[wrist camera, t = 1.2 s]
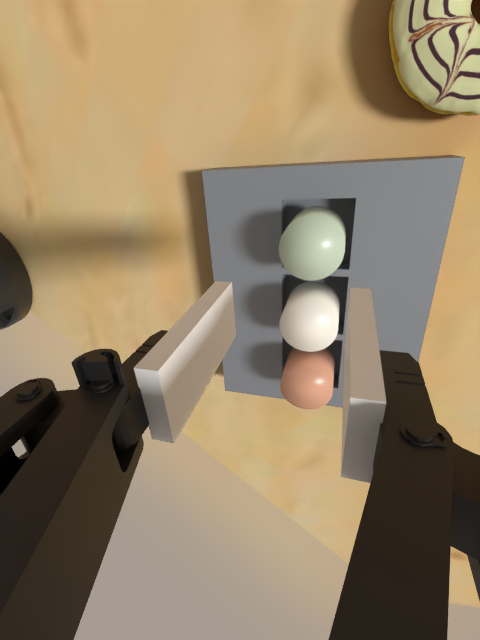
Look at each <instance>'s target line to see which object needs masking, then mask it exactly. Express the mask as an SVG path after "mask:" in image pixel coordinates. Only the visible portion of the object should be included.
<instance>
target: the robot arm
mask: <svg viewBox="0 0 480 640" xmlns="http://www.w3.org/2000/svg"><path fill="white" fill-rule="evenodd" d="M31 304H32V288H31V283H30V279H29V276H28V273H27V271H26V268H25V266H24V264H23V262H22V260H21V259H20V257H19V255H18V254H17V252H16V251H15V249H14V248H13V247H12V245H11V244H10V243H9V242H8V241H7V239H6V238H5V237H4V236H3V235H2V234H1V233H0V329H4V328H6V327H9V326H11V325H13V324H14V323H16V322H18V321H20V320H22V319H23V318H24V317H25V316H26V315H27V314H28V312H29V310H30V308H31ZM235 337H236V327H235V314H234V302H233V289H232V282H223V281H215V282H214V283H213V284H212V286H211V287H210V288H209V289H208V290H207V291H206V292H205V293H204V294H203V295H202V296H201V297H200V298H199V299H198V300H197V301H196V302H195V303H194V305H193V306H192V307H191V308H190V309H189V310H188V311H187V312H186V313H185V314H184V315H183V316H182V317H181V318H180V319H179V320H178V321H177V323H176V324H175V325H174V326H173V327H172V328H171V329H170V330H169V331H165V330H161V331H159V332H158V333H156V334H154V335H152V336H150V337H149V338H148V339H147V340H146V341H145V342H144V343H143V344H142V346H140V347H139V348H138V349H137V350H136V352H134V353H133V354H132V355H131V356H130V357H129V358H128V359H127V360H126V361H125V362H124V363H123V364H121V361H120V357H119V355H118V353H117V352H116V351H114V350H112V349H98V350H93V351H90V352H87V353H84V354H83V355H81V356H79V357H77V358H76V359H75V360H74V361H73V362H72V366H73V368H74V371H75V374H76V376H77V379H78V382H79V385H80V387H79V388H78V389H77V390H66V391H57V390H56V388H55V385H54V383H53V381H52V380H50V379H47V378H38V379H33V380H32V379H31V380H28V381H26V382H24V383H21V384H19V385H17V386H16V387H14V388H12V389H11V390H10V391H8V392H7V393H6V394H4V395H3V396H1V397H0V640H73V639H74V637H75V634H76V631H77V629H78V626H79V623H80V620H81V618H82V615H83V612H84V609H85V607H86V603H87V601H88V598H89V596H90V593H91V590H92V587H93V585H94V582H95V579H96V576H97V574H98V571H99V568H100V565H101V563H102V560H103V557H104V554H105V552H106V549H107V546H108V543H109V541H110V538H111V535H112V533H113V530H114V527H115V524H116V522H117V519H118V516H119V513H120V511H121V508H122V505H123V502H124V500H125V497H126V494H127V491H128V489H129V486H130V483H131V480H132V478H133V475H134V472H135V469H136V467H137V464H138V461H139V458H140V456H141V453H142V450H143V439H142V434H143V433H144V431H145V430H146V428H147V427H148V426H149V429H150V432H151V436H152V439H155V440H160V441H165V442H170V443H174V442H175V440H176V438H177V437H178V435H179V434H180V432H181V430H182V428H183V427H184V425H185V423H186V422H187V420H188V418H189V416H190V415H191V413H192V411H193V409H194V408H195V406H196V404H197V403H198V401H199V399H200V397H201V396H202V394H203V392H204V390H205V389H206V387H207V385H208V384H209V382H210V380H211V378H212V377H213V375H214V373H215V372H216V370H217V368H218V366H219V365H220V363H221V361H222V359H223V358H224V356H225V354H226V353H227V351H228V349H229V347H230V346H231V344H232V342H233V340H234V339H235ZM20 439H21V441H22V443H23V445H24V447H25V449H26V451H27V452H26V453H24V454H23V455H21V456H20V457H17V456H15V453H14V451H13V449H12V446H13V445H14V444H15V443H16V442H17V441H18V440H20ZM341 477H344V478H349V479H354V480H359V481H364V482H369V483H371V484H370V488H369V491H368V495H367V499H366V503H365V506H364V510H363V514H362V518H361V521H360V525H359V529H358V532H357V536H356V540H355V544H354V547H353V551H352V555H351V559H350V562H349V566H348V570H347V573H346V577H345V581H344V585H343V588H342V592H341V596H340V600H339V604H338V607H337V611H336V614H335V618H334V622H333V626H332V629H331V633H330V637H329V640H447V628H448V600H449V572H450V546H452V547H454V548H456V549H458V550H459V551H461V552H463V553H465V554H467V556H468V560H469V563H470V567H471V571H472V574H473V578H474V582H475V585H476V589H477V593H478V597H479V600H480V455H477V454H475V453H472V452H470V451H468V450H466V449H463V448H462V447H460V446H459V445H457V444H455V443H454V442H453V440H452V437H451V435H450V434H449V433H448V432H447V430H446V429H445V428H444V427H443V426H441V425H440V424H438V423H437V422H436V418H435V415H434V412H433V408H432V405H431V402H430V399H429V395H428V392H427V389H426V386H425V382H424V379H423V377H422V372H421V369H420V366H419V363H418V362H417V361H416V360H415V359H414V358H413V357H412V356H411V355H410V354H409V353H405V352H394V351H384V350H379V344H378V337H377V329H376V322H375V315H374V307H373V300H372V292H371V289H370V288H350V297H349V307H348V317H347V328H346V338H345V352H344V387H343V422H342V457H341Z"/></svg>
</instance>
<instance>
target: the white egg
mask: <svg viewBox="0 0 480 640" xmlns="http://www.w3.org/2000/svg"><path fill="white" fill-rule="evenodd" d="M339 308H340V303H339V298H338V296H337V294H336V292H335V291H334V290H333V289H332V288H331V287H330V286H328V285H326V284H324V283H322V282H317V281H309V282H304V283H302V284H300V285H298V286H296V287H295V288H294V289H293V290H292V292H291V293H290V295H289V298H288V300H287V303H286V305H285V308H284V310H283V313H282V316H281V318H280V324H279V326H280V332H281V334H282V336H283V338H284V339H285V340H286V342H287V343H288V344H290V345H291V346H292V347H294V348H296V349H299V350H302V351H307V352H315V351H319V350H322V349H325V348H326V347H328V346H329V345H331V344H332V343H333V341H334V340H335V338H336V336H337V333H338V323H339Z"/></svg>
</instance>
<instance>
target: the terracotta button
mask: <svg viewBox="0 0 480 640" xmlns="http://www.w3.org/2000/svg"><path fill="white" fill-rule="evenodd" d="M334 367H335V362H334V358H333V355H332V354H331V352H330V351H329V350H328V349H327V348H325V349H322V350H319V351H315V352H307V351H302V350H299V349H296V348H294V347H293V348H292V349H291V351H290V352H289V354H288V357H287V361H286V364H285V368H284V371H283V375H282V378H281V382H280V389H281V393H282V395H283V396H284V398H285V399H286V400H287V401H288V402H290V403H291V404H293V405H294V406H297V407H299V408H303V409H317V408H320V407H323V406H324V405H326V404H327V403H328V402H329V401H330V399H331V397H332V394H333V381H334Z"/></svg>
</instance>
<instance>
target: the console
mask: <svg viewBox="0 0 480 640" xmlns="http://www.w3.org/2000/svg"><path fill="white" fill-rule="evenodd" d="M464 159H465V157H461V156H455V155H446V156H427V157H409V158H391V159H372V160H354V161H335V162H317V163H298V164H280V165H261V166H243V167H225V168H213V169H208V170H204V171H202V178H203V187H204V197H205V206H206V215H207V224H208V234H209V243H210V252H211V262H212V271H213V280H214V282H215V281H223V282H232V289H233V302H234V314H235V327H236V337H235V339H234V340H233V342H232V344H231V346H230V347H229V349H228V351H227V353H226V354H225V356H224V358H223V359H222V364H223V373H224V383H225V391H232V392H239V393H246V394H253V395H259V396H266V397H273V398H280V399H285V398H284V396H283V395H282V393H281V389H280V382H281V378H282V375H283V371H284V368H285V364H286V361H287V357H288V354H289V352H290V351H291V349H292V348H293V347H292V346H291V345H290V344H288V343H287V342H286V340H285V339H284V338H283V336H282V334H281V332H280V326H279V324H280V318H281V316H282V313H283V310H284V308H285V305H286V303H287V300H288V298H289V295H290V293H291V292H292V290H293V289H294V288H295V287H296V286H298V285H300V284H302V283H304V282H309V280H303V279H300V278H297V277H295V276H294V275H292V274H291V273H290V272H288V271H287V269H286V268H285V267H284V266H283V264H282V262H281V259H280V256H279V243H280V239H281V236H282V234H283V233H284V231H285V230H286V228H287V227H288V225H289V224H290V223H291V221H292V220H293V218H294V217H295V216H296V215H297V214H298V213H299V212H301V211H302V210H304V209H306V208H309V207H313V206H323V207H327V208H330V209H332V210H333V211H335V212H336V213H337V214H338V215H339V216H340V217H341V219H342V220H343V223H344V225H345V230H346V238H345V253H344V257H343V260H342V262H341V264H340V266H339V267H338V268H337V269H336V270H335V271H334V272H333V273H332V274H331V275H329V276H327V277H325V278H323V279H320V280H312V281H317V282H322V283H324V284H326V285H328V286H330V287H331V288H332V289H333V290H334V291H335V292H336V294H337V296H338V298H339V303H340V308H339V323H338V333H337V336H336V338H335V340H334V341H333V343H332V344H331V345H329V346H328V347H326V348H327V349H328V350H329V351H330V352H331V354H332V355H333V358H334V362H335V367H334V381H333V394H332V397H331V399H330V401H329V402H328V403H327V404H326V405H328V406H335V407H342V408H343V387H344V352H345V338H346V328H347V317H348V307H349V297H350V288H370V289H371V292H372V300H373V307H374V315H375V322H376V329H377V337H378V344H379V350H384V351H394V352H405V353H409V354H410V355H411V356H412V357H413V358H414V359H415V360H416V361H417V362H418V361H419V356H420V352H421V347H422V343H423V339H424V334H425V330H426V326H427V321H428V317H429V312H430V308H431V304H432V299H433V295H434V290H435V286H436V282H437V277H438V273H439V268H440V264H441V260H442V255H443V251H444V246H445V242H446V238H447V233H448V229H449V224H450V220H451V216H452V211H453V207H454V203H455V198H456V194H457V189H458V185H459V181H460V176H461V172H462V167H463V163H464Z"/></svg>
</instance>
